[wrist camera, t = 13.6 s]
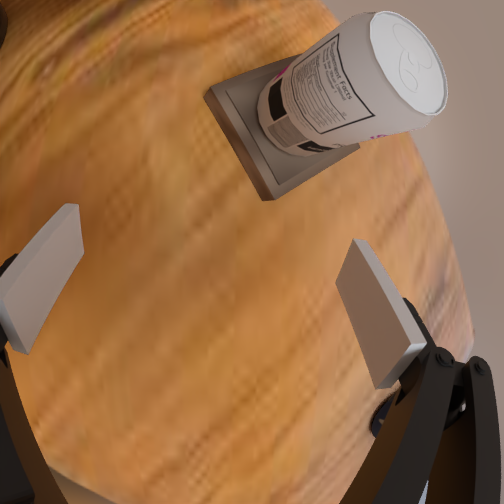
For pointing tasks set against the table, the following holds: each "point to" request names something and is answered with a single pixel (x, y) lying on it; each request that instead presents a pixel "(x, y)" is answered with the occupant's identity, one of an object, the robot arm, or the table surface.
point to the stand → (263, 134)
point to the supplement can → (355, 87)
